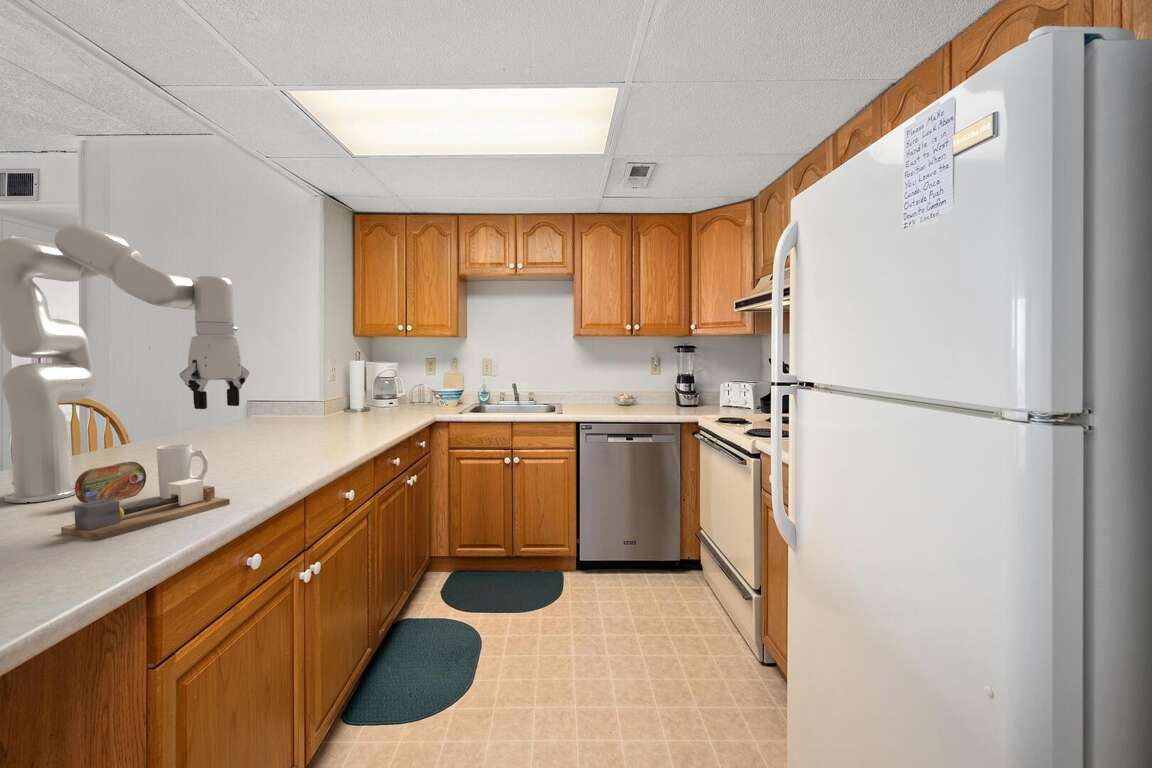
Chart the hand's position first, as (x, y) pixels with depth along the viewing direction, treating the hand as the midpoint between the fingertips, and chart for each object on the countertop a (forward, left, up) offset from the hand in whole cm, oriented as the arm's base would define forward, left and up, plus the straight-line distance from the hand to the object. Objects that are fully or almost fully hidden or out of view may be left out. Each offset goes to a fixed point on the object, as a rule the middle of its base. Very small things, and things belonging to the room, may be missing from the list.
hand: (217, 406), depth 129 cm
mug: (-12, 0, -22) cm, 25 cm away
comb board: (0, -15, -22) cm, 27 cm away
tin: (-23, -9, -22) cm, 33 cm away
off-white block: (0, -8, -20) cm, 22 cm away
